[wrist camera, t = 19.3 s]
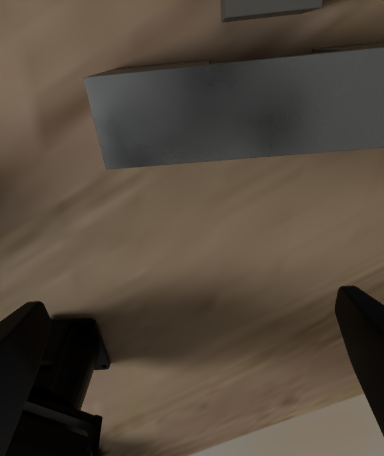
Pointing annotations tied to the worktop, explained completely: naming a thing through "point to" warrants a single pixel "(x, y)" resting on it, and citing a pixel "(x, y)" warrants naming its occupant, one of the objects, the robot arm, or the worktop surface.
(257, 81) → the housing
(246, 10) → the plug
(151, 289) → the worktop surface
